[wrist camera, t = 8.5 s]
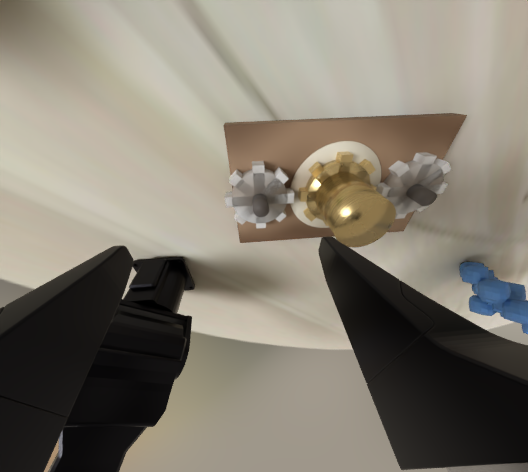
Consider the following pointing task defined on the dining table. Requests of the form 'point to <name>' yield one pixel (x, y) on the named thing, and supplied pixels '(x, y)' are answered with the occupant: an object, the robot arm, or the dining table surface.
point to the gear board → (325, 150)
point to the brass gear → (347, 201)
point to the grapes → (495, 294)
